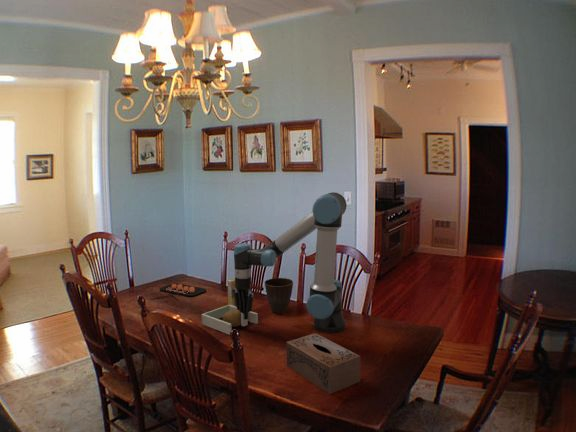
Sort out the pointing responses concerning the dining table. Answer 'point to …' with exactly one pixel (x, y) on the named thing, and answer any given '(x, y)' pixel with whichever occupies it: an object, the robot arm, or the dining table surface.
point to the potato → (233, 318)
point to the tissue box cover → (323, 362)
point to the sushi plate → (191, 289)
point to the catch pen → (213, 321)
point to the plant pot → (279, 294)
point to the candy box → (231, 292)
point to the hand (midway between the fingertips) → (244, 325)
